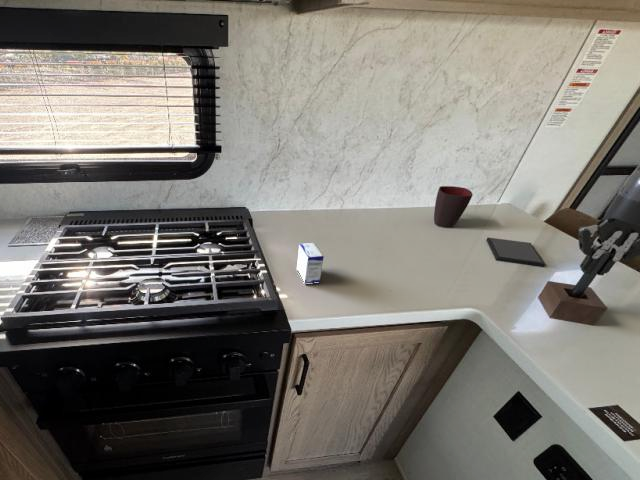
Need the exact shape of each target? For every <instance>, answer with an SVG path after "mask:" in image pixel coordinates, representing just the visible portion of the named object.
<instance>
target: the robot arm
mask: <svg viewBox="0 0 640 480" xmlns="http://www.w3.org/2000/svg"><path fill="white" fill-rule="evenodd" d="M595 233H596V234H597V237H596V238H595V239H594V240H593V244H592V240H591V238H593V237H594V235H595ZM577 236H578V237H577V238H578V248H579V250H580V251H581V252H582V253H583V254H584V255H585V257H584V258H583V260H582V261H581V263H580V264H579V268H580V270H581V272H582V273H583V274H584V273H589V272H590V271H591V270H592V268H593V267H594V265H595V264H596V263H597V261H598V259H597V258H599V257H600V256H601V255H602V254H603V252H604V251H608V252H610V253H611V254H612V255H611V256H610V257H609V259H608V260H607V261H606V263H605V264H604V266H603V267H602V268H601V270H600V271H599V273H598V274H597V275H596V276H604V275H605V274H608V273H609V272H610V271H611V269H612V268H613V266H615V264H616V263H617V262H619V261H622V260H625V261H631V260H634V259H636V257H637V258H638V256H640V163H638V165H637V166H636V168H635V170H633V172H632V173H631V174H630V176H628V178H627V179H626V181H625V182H624V183H623V185H622V186H621V187H620V189H619V191H618V193H617V194H616V195H615V197H614V199H613V200H612V201H611V203H610V205H609V206H608V208H607V209H606V211H605V214H604V216H603V217H601V219H600V220H598V221H597V222H596V223H595V224H593V225H589V226H585V225H580V226H578V227H577Z"/></svg>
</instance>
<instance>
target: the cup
mask: <svg viewBox="0 0 640 480" xmlns="http://www.w3.org/2000/svg"><path fill="white" fill-rule="evenodd" d="M473 195H474V194H473V192H472V191H471V190H470V189H468V188H466V187H461V186H452V185H451V186H450V185H442V186H441V185H440V186H439V188H438V190H437V194H436V197H435V204H434V211H433V223H434V225H435V226H437V227H439V228H446V229H447V228H449V229H451V228H453V227H454V226H455V225H456V224H457V223H458V221H459V220H460V218H461V217H462V215H463V214H464V212H465V211H466V209H467V207H468V206H469V204H470V202H471V200H472V197H473Z"/></svg>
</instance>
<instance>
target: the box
mask: <svg viewBox="0 0 640 480" xmlns="http://www.w3.org/2000/svg"><path fill="white" fill-rule="evenodd" d="M298 245H299V246H298V254H297V255H298V256H297V262H296V271H297V270H298V271H299V273H300V275H301V277H302V279H303V281H304V282H303V281H302V282H303V284H304V283H314V282H320V283H321V276H322V270H323V264H324V257H325V256H324V255H323V253H322V252H321V250H320V249H319V247H318V246H317V244H316V243H315V242H307V243H306V242H305V243H304V242H303V243H299V244H298ZM299 273H298V274H299ZM300 275H299V276H300ZM301 277H300V278H301ZM302 279H301V280H302ZM318 284H319V283H315V284H314V285H318ZM307 285H308V286H309V285H312V284H307ZM307 285H306V286H307Z"/></svg>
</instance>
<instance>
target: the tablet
mask: <svg viewBox="0 0 640 480" xmlns="http://www.w3.org/2000/svg"><path fill="white" fill-rule="evenodd" d="M486 242H487V245H488V247H489V249H490V251H491V253H492V255H493V257H494V259H495V261H498V262H505V263H513V264H519V265H526V266H533V267H540V268H545V266H546V263H545V261H544V260H543V258H542V257H541V256H540V254H539V253H538V251H537V250H536V248H535V247H534V245H533V244H532V243H531V242H526V241H521V240H520V241H519V240H511V239H504V238H497V237H487V238H486Z"/></svg>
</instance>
